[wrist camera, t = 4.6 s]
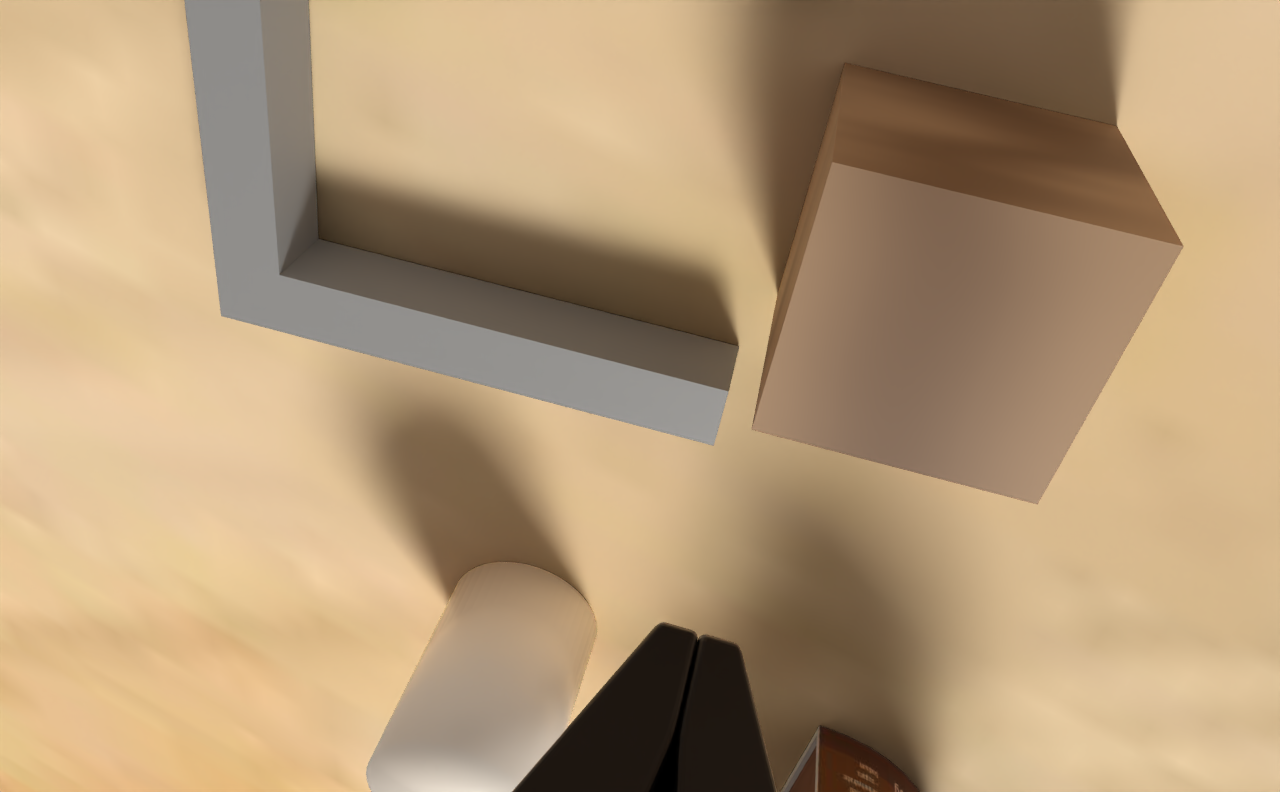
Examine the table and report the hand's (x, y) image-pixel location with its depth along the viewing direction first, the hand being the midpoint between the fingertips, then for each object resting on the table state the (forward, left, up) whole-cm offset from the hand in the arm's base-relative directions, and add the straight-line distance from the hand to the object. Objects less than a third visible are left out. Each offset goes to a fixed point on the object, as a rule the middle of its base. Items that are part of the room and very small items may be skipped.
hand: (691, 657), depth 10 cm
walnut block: (-3, 0, -12) cm, 12 cm away
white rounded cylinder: (+4, +15, -12) cm, 20 cm away
